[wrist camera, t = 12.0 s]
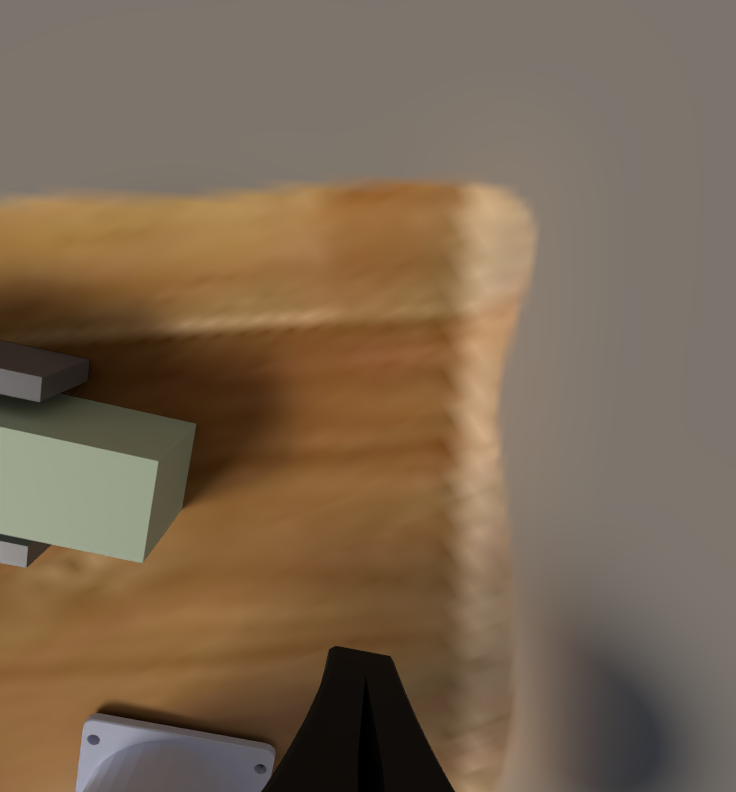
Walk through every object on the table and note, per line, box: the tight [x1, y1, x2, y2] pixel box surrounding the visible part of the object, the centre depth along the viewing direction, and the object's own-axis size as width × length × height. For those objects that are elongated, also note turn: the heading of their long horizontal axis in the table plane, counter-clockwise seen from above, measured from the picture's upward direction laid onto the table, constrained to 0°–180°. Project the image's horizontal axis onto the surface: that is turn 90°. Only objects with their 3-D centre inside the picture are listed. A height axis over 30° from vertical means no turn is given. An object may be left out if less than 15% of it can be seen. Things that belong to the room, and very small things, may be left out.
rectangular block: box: [0, 394, 196, 563], centre depth 19 cm, size 8×4×4 cm, turn 77°
